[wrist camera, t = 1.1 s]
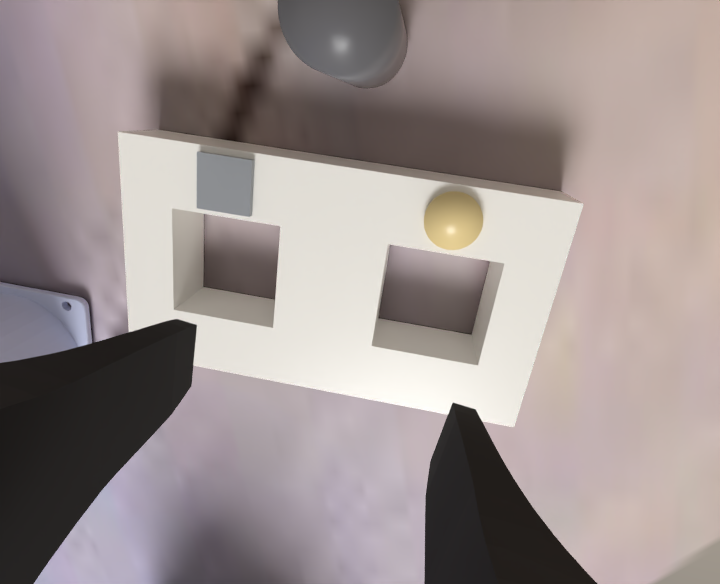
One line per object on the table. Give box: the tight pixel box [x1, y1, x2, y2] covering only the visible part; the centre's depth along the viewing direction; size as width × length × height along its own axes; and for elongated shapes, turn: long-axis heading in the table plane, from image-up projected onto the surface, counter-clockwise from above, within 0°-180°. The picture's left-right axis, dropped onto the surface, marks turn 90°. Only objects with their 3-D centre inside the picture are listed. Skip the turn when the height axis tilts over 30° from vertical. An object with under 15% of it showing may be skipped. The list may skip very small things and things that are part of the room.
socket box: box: [118, 130, 583, 427], centre depth 21 cm, size 18×10×3 cm, turn 82°
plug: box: [278, 0, 407, 88], centre depth 16 cm, size 3×3×7 cm
